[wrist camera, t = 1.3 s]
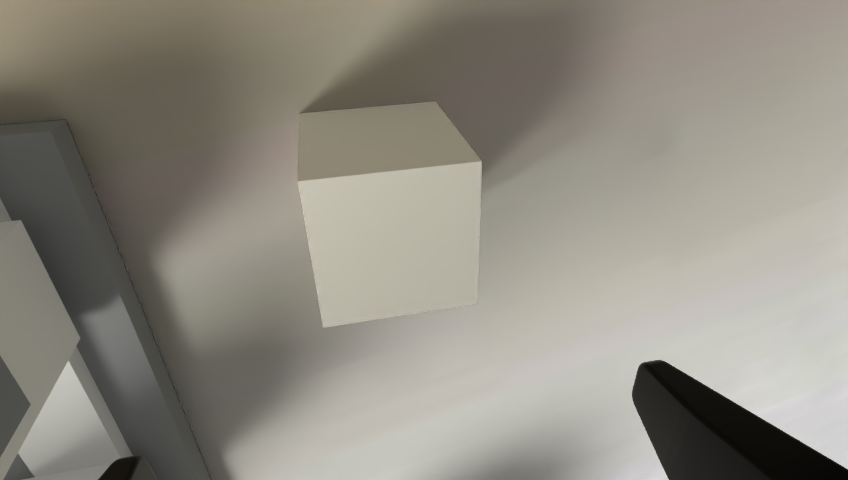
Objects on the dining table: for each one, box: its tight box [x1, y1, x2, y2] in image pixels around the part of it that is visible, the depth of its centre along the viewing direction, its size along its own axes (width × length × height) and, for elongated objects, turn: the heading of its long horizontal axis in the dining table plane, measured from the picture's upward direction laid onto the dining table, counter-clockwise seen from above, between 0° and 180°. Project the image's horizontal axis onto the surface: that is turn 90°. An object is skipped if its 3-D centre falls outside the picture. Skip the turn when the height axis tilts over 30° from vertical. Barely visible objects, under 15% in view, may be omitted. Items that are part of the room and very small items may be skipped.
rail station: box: [0, 120, 211, 480], centre depth 18 cm, size 22×8×9 cm, turn 2°
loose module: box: [298, 101, 482, 328], centre depth 18 cm, size 5×5×6 cm
